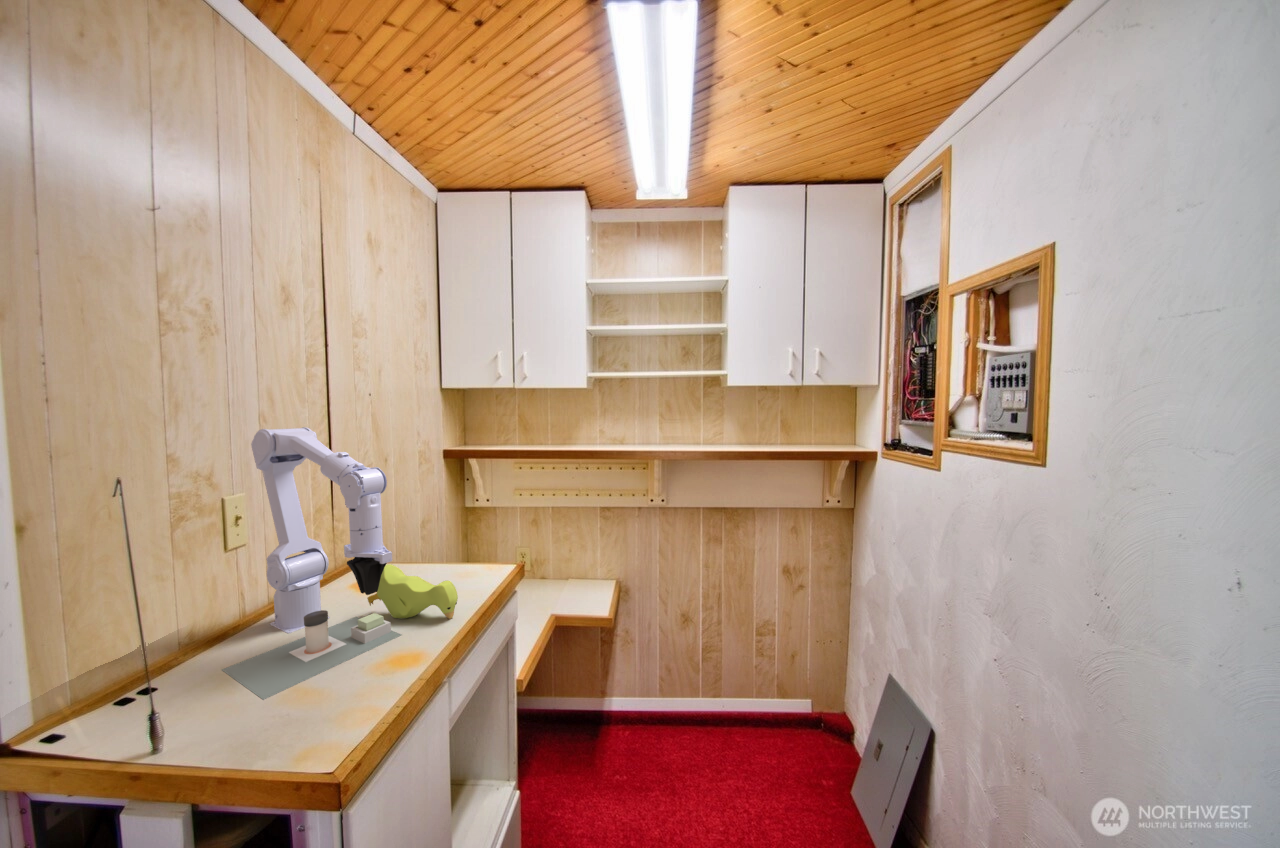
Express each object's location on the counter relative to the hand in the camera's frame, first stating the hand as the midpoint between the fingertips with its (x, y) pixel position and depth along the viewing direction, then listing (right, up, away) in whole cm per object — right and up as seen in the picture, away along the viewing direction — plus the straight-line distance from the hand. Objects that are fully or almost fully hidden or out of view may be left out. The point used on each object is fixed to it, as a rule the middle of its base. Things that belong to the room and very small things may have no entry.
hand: (369, 592), depth 90 cm
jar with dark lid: (-7, -9, -5) cm, 12 cm away
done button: (0, -8, 0) cm, 8 cm away
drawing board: (-7, -10, -6) cm, 13 cm away
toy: (+5, -9, +9) cm, 14 cm away
